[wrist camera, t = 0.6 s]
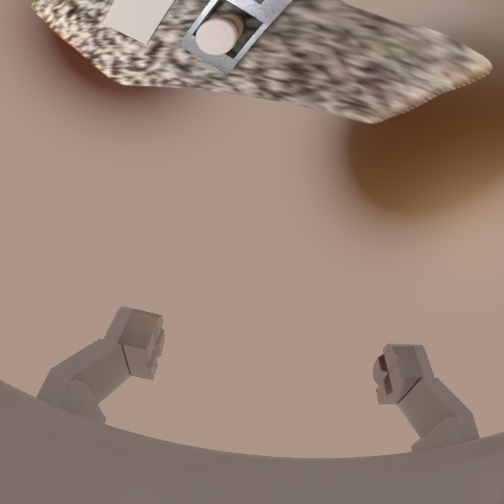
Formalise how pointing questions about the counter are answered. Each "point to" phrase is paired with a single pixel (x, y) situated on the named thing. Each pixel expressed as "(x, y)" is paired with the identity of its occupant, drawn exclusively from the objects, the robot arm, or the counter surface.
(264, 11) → the grey open box
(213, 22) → the sprinkles bottle
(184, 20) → the counter surface
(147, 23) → the plate
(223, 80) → the counter surface
